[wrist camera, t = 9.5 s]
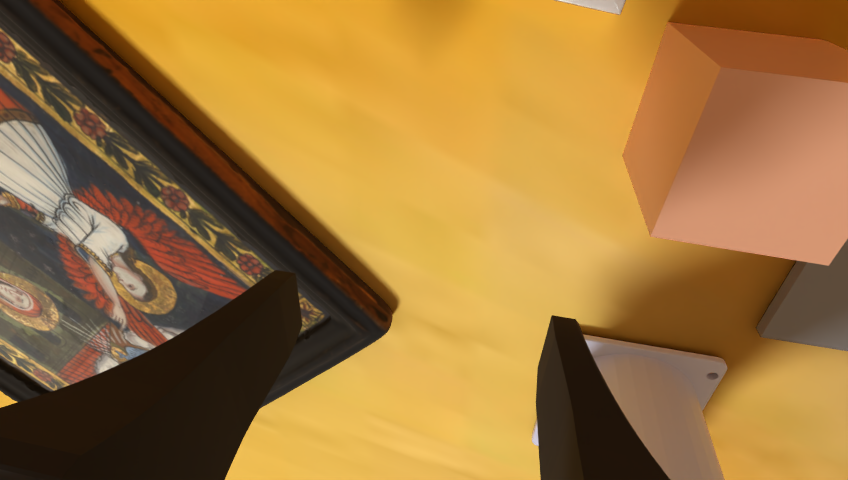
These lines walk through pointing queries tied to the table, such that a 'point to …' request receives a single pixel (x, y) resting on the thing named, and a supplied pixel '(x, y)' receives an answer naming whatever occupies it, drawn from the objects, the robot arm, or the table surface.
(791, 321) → the grey board
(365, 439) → the table surface
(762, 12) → the table surface
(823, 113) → the terracotta block
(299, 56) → the table surface
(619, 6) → the picture frame
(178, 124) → the framed painting
